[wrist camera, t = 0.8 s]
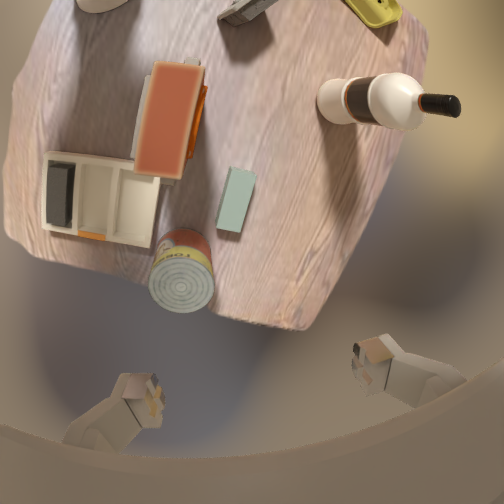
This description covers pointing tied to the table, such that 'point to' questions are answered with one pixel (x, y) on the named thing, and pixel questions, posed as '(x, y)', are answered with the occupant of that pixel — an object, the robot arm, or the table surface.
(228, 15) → the electrical switch
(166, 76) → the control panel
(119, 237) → the cream compartment tray
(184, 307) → the canned food
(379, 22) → the plastic component
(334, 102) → the vodka
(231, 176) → the panel
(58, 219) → the dark grey long block
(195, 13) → the table surface
